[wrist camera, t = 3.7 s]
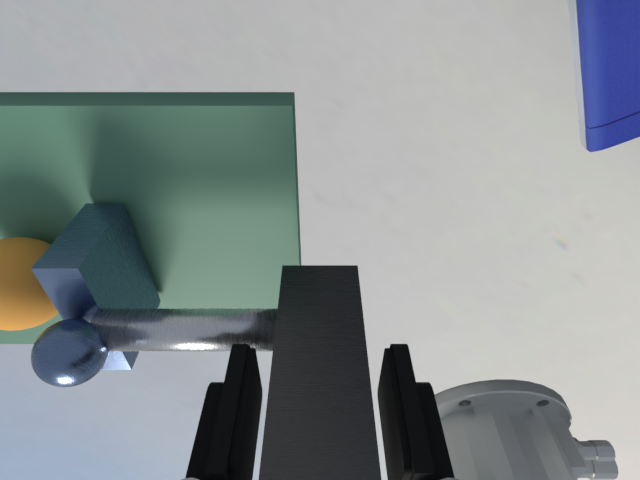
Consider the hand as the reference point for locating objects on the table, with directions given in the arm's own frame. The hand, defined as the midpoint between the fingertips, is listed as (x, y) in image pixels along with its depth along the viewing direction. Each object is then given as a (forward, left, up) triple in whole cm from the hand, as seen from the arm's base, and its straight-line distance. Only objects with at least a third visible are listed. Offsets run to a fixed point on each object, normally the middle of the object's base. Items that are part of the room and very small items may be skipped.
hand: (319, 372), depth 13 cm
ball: (+13, 0, -4) cm, 14 cm away
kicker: (+4, 0, -6) cm, 7 cm away
